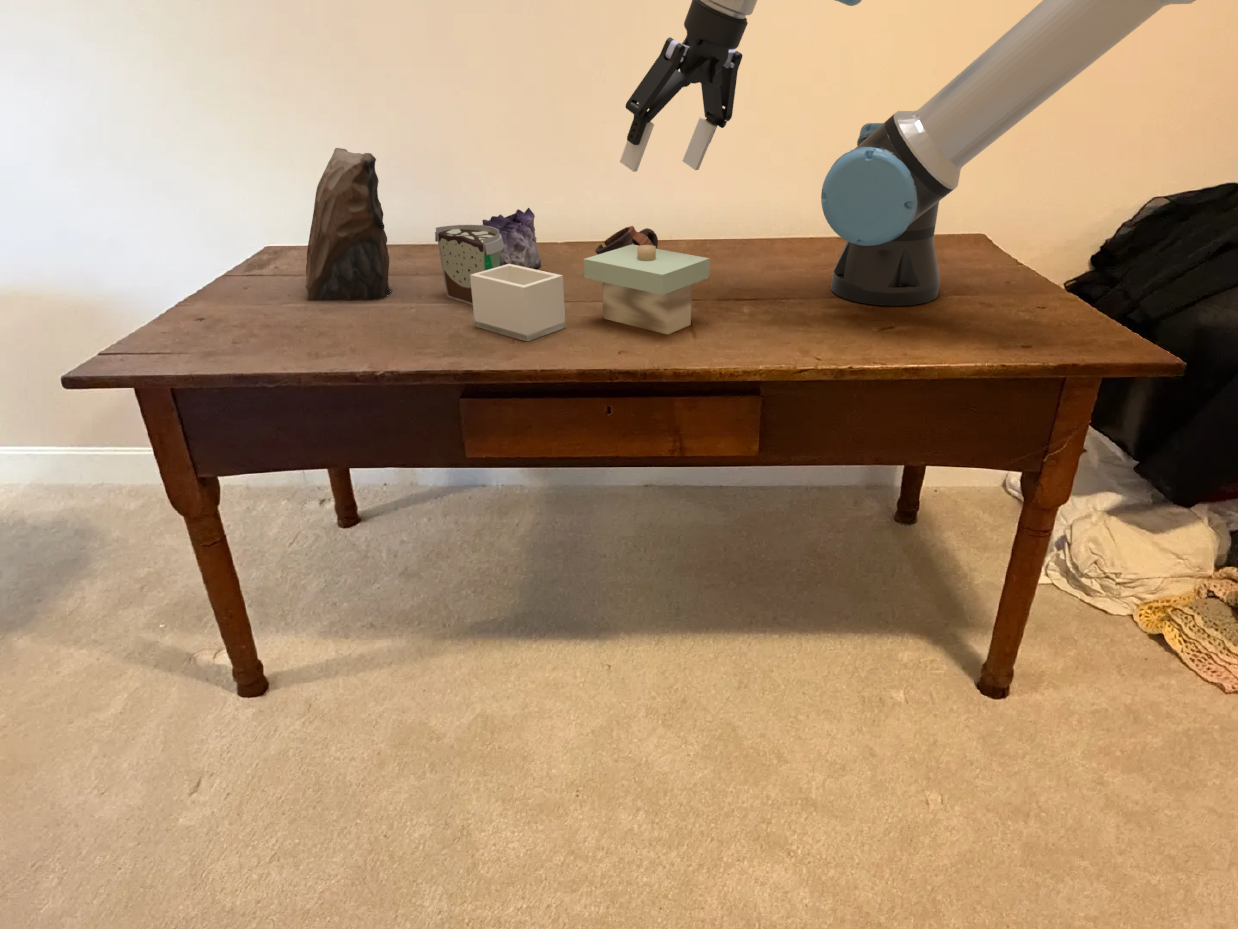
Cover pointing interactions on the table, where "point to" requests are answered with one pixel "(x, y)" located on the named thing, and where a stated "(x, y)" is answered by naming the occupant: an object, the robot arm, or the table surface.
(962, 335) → the table surface
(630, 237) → the pottery mug
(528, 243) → the geode
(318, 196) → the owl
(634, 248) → the lid
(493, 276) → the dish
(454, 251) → the food container
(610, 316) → the marbled stone block
